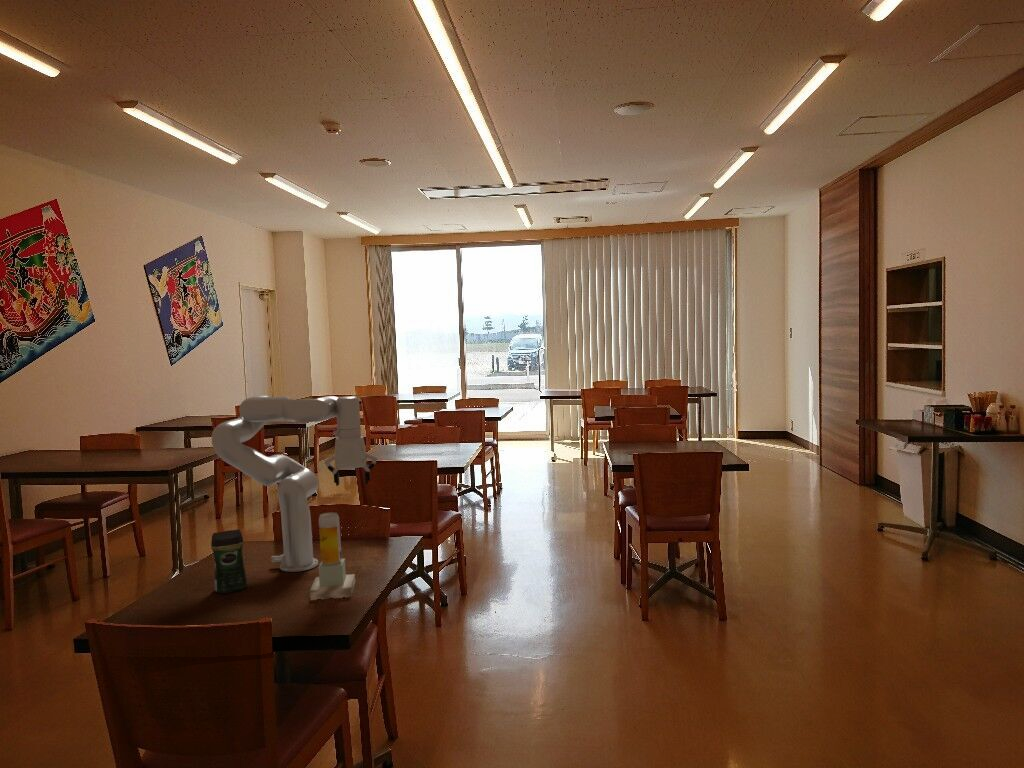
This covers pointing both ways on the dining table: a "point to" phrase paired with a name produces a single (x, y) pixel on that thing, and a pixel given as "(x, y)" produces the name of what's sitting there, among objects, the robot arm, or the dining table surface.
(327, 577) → the cube
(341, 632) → the dining table surface
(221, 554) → the coffee jar
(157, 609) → the dining table surface
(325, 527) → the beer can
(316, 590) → the slab
